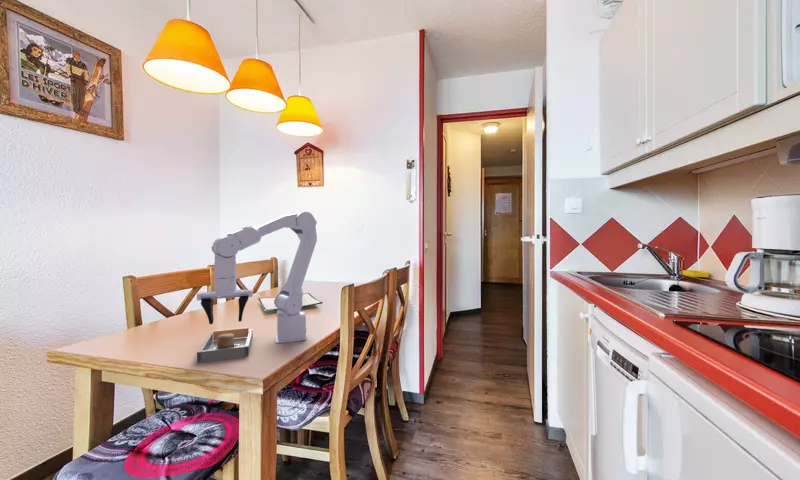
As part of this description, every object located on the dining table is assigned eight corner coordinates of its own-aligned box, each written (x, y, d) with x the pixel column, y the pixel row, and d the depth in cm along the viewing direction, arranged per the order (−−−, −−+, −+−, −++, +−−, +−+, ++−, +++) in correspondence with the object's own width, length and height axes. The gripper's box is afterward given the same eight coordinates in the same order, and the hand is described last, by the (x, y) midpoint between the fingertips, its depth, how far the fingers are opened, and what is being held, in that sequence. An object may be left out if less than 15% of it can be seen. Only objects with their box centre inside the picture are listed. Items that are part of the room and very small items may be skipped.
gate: (248, 335, 107) (248, 327, 107) (248, 336, 106) (248, 328, 106) (213, 339, 103) (213, 330, 103) (213, 340, 103) (213, 331, 102)
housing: (252, 337, 108) (252, 329, 108) (248, 356, 92) (248, 346, 92) (209, 342, 103) (209, 333, 103) (197, 362, 87) (197, 352, 87)
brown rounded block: (234, 348, 96) (234, 332, 96) (233, 354, 92) (233, 337, 92) (218, 350, 95) (218, 334, 95) (216, 356, 91) (215, 339, 90)
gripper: (253, 274, 100) (253, 316, 100) (200, 276, 95) (200, 320, 95) (251, 277, 93) (251, 322, 94) (194, 280, 88) (195, 327, 89)
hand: (226, 322), depth 94 cm, fingers open, 7 cm apart
